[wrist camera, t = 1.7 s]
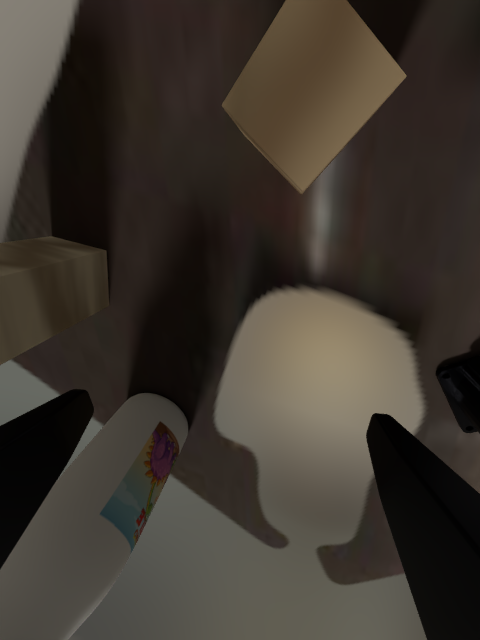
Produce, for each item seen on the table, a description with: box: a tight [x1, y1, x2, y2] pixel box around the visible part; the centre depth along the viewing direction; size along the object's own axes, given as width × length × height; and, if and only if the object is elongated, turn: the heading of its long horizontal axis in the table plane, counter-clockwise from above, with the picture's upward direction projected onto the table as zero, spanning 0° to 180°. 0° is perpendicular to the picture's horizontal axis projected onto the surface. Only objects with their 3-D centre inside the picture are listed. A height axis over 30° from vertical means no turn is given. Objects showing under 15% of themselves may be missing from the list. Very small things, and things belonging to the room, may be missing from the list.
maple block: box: [0, 236, 109, 365], centre depth 16 cm, size 5×5×13 cm
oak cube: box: [222, 0, 406, 195], centre depth 12 cm, size 5×5×5 cm
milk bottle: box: [0, 393, 188, 640], centre depth 19 cm, size 8×8×20 cm
